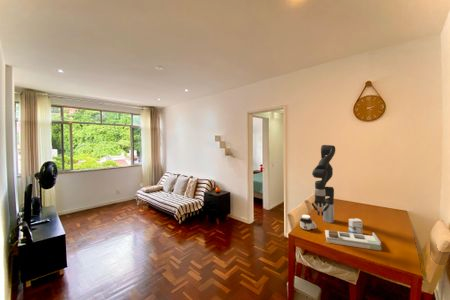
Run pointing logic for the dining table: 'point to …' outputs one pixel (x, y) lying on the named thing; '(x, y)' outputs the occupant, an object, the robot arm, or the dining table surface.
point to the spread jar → (307, 223)
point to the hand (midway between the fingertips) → (320, 215)
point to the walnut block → (333, 234)
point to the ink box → (355, 226)
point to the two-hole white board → (355, 240)
